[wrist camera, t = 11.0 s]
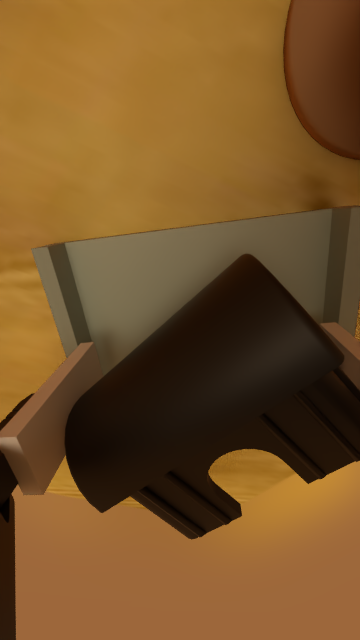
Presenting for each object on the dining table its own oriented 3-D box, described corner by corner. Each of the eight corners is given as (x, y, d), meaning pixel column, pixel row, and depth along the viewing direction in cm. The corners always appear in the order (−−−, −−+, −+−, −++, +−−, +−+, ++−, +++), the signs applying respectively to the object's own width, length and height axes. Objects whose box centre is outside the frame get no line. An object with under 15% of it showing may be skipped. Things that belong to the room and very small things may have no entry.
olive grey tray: (346, 206, 14) (380, 204, 12) (325, 410, 19) (344, 440, 17) (53, 243, 16) (25, 249, 13) (105, 420, 21) (92, 449, 19)
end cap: (235, 239, 12) (274, 268, 6) (322, 342, 14) (426, 452, 7) (99, 363, 15) (29, 469, 9) (184, 434, 17) (174, 566, 10)
